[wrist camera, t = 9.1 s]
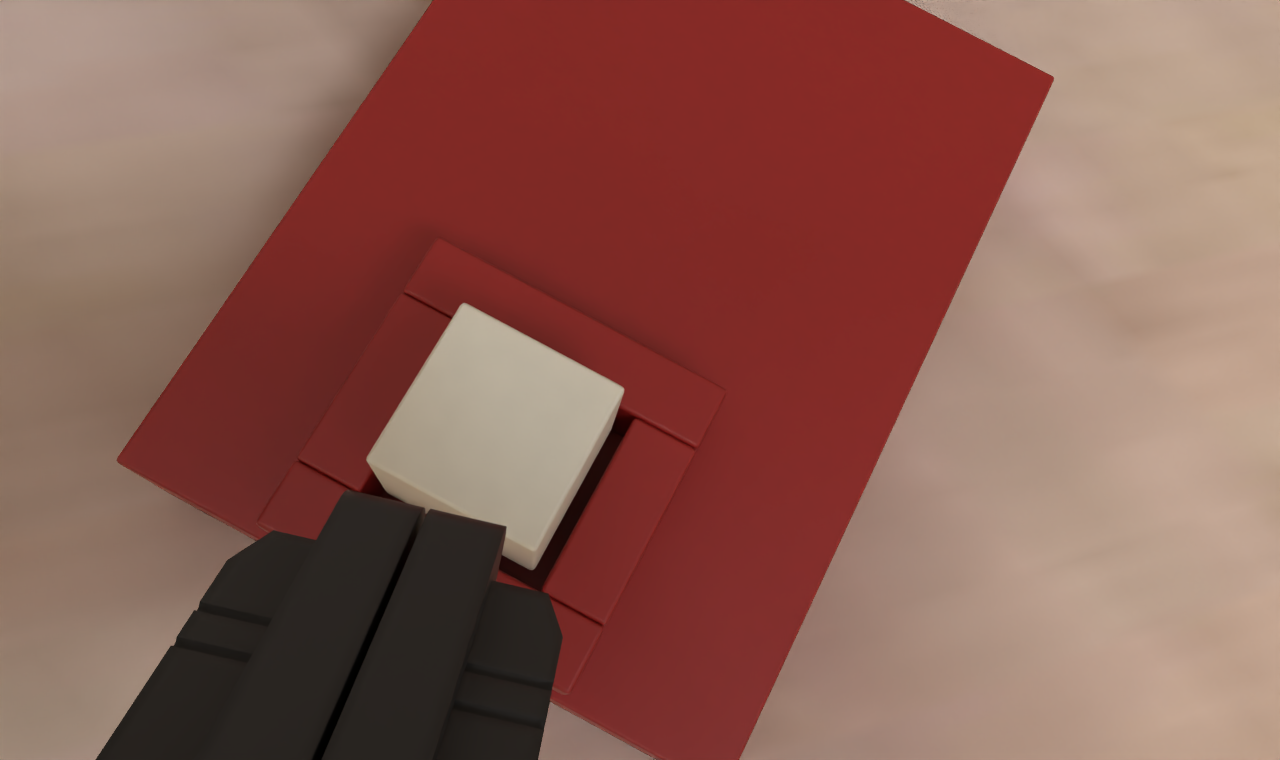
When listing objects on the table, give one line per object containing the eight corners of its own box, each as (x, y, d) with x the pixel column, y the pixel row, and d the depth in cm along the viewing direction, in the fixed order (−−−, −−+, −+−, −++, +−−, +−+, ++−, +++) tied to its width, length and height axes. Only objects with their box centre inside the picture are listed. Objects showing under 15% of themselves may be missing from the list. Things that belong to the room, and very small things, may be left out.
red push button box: (168, 492, 23) (74, 436, 18) (551, -82, 27) (559, -248, 22) (695, 781, 22) (744, 803, 17) (994, 147, 27) (1098, 27, 22)
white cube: (383, 491, 19) (363, 459, 16) (469, 350, 19) (462, 299, 17) (533, 572, 18) (535, 553, 16) (612, 426, 19) (626, 387, 17)
